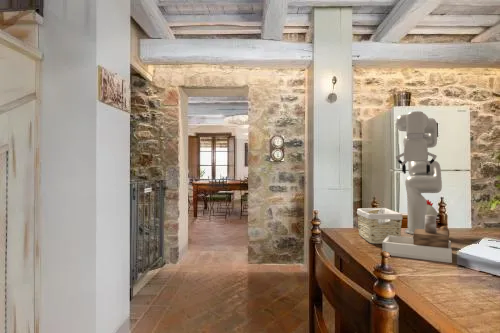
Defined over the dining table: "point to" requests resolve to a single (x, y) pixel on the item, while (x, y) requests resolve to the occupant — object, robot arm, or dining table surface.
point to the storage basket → (378, 224)
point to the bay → (415, 249)
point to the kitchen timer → (431, 209)
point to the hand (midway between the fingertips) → (415, 173)
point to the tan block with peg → (431, 234)
